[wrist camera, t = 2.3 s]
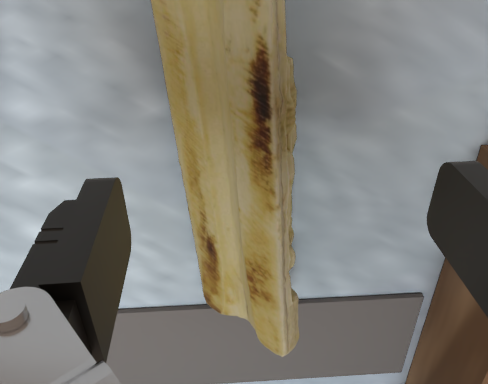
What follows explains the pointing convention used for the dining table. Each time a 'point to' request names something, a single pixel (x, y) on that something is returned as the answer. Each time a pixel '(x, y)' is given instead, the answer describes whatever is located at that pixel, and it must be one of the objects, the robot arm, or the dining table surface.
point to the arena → (452, 332)
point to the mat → (253, 351)
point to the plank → (236, 153)
